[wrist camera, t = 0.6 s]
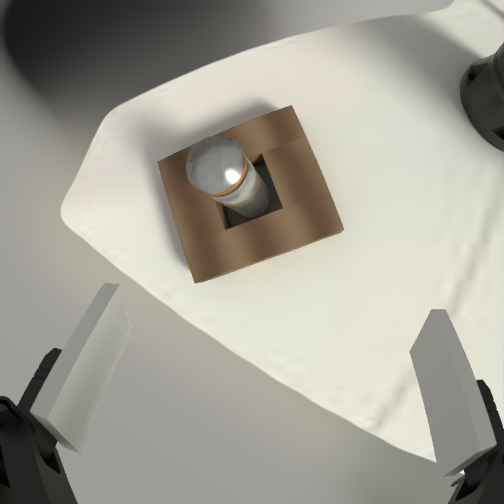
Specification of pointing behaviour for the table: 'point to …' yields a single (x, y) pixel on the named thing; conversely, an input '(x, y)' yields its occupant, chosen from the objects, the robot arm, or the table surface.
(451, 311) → the table surface
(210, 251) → the pocket block
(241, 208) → the steel peg
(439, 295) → the table surface
